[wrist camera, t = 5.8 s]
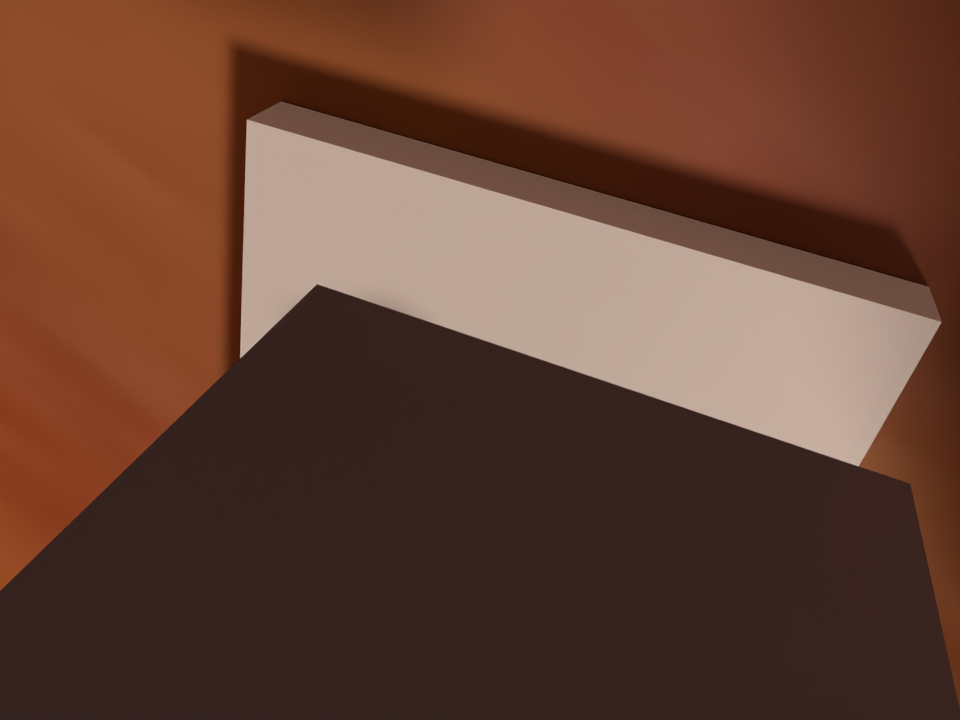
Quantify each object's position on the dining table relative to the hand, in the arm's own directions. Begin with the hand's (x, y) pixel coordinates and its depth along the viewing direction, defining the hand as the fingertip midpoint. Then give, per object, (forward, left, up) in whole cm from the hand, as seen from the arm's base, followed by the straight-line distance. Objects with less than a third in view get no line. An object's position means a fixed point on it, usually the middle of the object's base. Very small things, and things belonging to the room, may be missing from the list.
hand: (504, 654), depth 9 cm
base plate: (+1, +6, -11) cm, 12 cm away
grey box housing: (0, 0, -1) cm, 1 cm away
